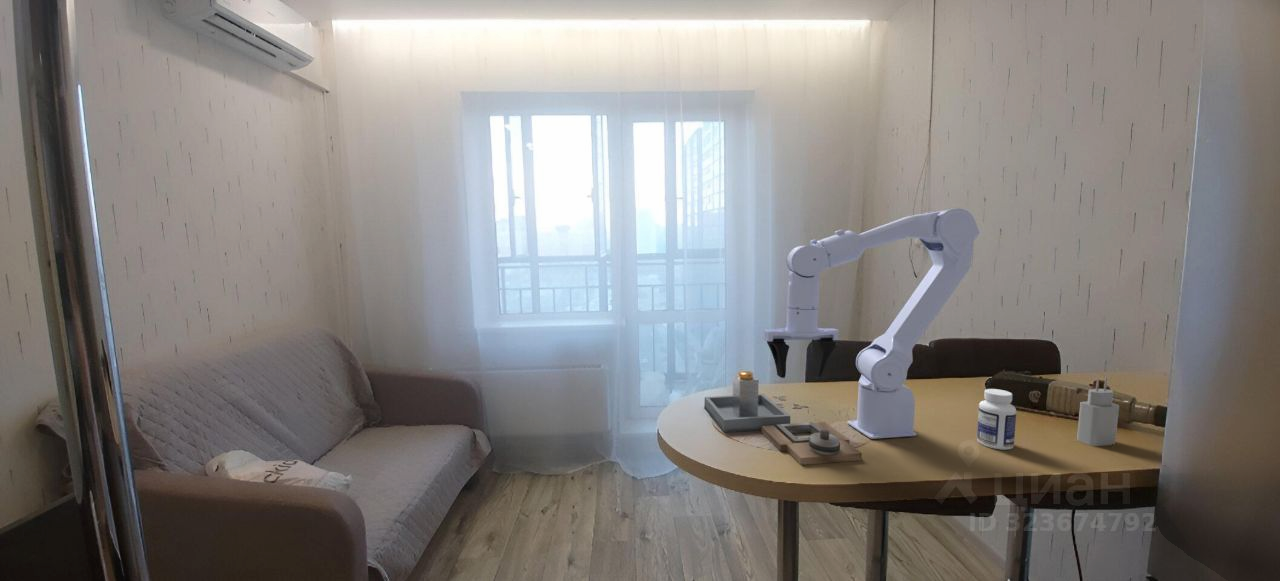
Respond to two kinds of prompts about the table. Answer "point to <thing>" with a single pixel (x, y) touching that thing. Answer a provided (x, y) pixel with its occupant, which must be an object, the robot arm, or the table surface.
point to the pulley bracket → (812, 443)
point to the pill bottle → (996, 420)
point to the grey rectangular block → (745, 394)
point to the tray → (729, 422)
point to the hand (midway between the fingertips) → (799, 375)
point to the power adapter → (1098, 418)
